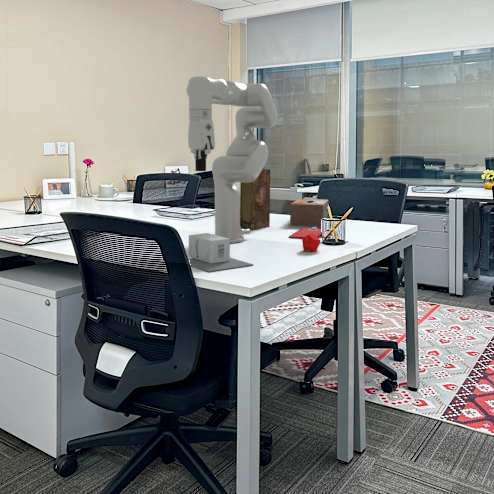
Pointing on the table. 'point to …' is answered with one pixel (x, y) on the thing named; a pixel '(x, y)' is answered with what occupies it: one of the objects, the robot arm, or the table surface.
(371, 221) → the table surface
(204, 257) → the supplement box
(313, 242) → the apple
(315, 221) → the tissue box cover
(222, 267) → the desk mat
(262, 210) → the book
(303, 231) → the red board with handle
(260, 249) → the table surface
